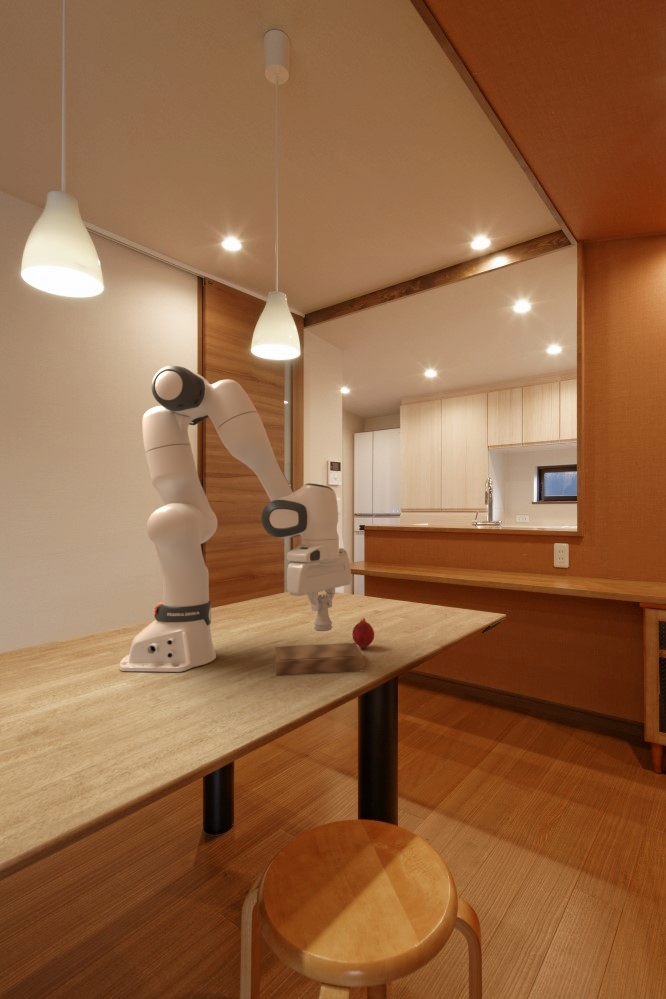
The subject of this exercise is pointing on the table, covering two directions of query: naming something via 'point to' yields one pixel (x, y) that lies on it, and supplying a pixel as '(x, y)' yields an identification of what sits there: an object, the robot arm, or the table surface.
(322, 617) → the rook chess piece
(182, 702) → the table surface
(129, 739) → the table surface
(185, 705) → the table surface
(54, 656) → the table surface
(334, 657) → the walnut board
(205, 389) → the robot arm
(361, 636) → the onion
